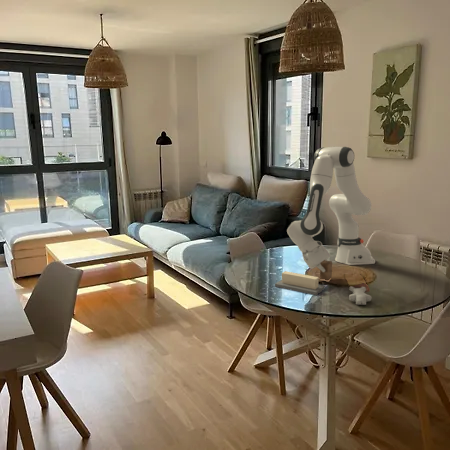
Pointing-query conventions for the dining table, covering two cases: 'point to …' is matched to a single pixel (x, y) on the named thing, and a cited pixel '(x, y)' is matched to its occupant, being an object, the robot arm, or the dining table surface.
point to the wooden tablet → (362, 286)
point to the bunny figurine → (359, 295)
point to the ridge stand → (300, 283)
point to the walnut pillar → (328, 272)
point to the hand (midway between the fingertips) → (327, 269)
